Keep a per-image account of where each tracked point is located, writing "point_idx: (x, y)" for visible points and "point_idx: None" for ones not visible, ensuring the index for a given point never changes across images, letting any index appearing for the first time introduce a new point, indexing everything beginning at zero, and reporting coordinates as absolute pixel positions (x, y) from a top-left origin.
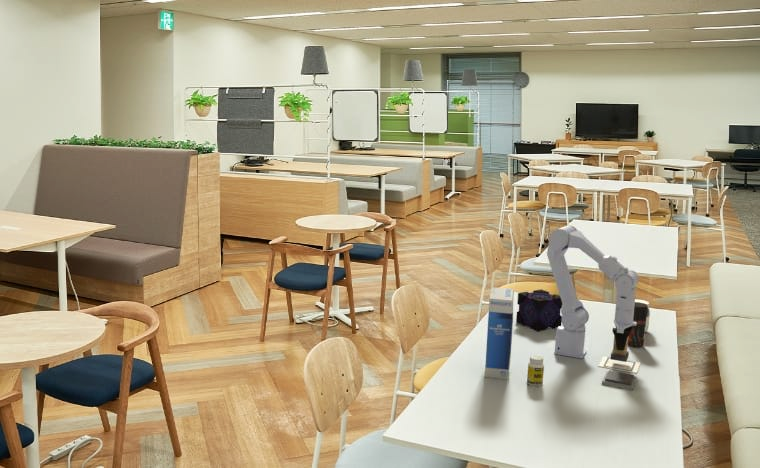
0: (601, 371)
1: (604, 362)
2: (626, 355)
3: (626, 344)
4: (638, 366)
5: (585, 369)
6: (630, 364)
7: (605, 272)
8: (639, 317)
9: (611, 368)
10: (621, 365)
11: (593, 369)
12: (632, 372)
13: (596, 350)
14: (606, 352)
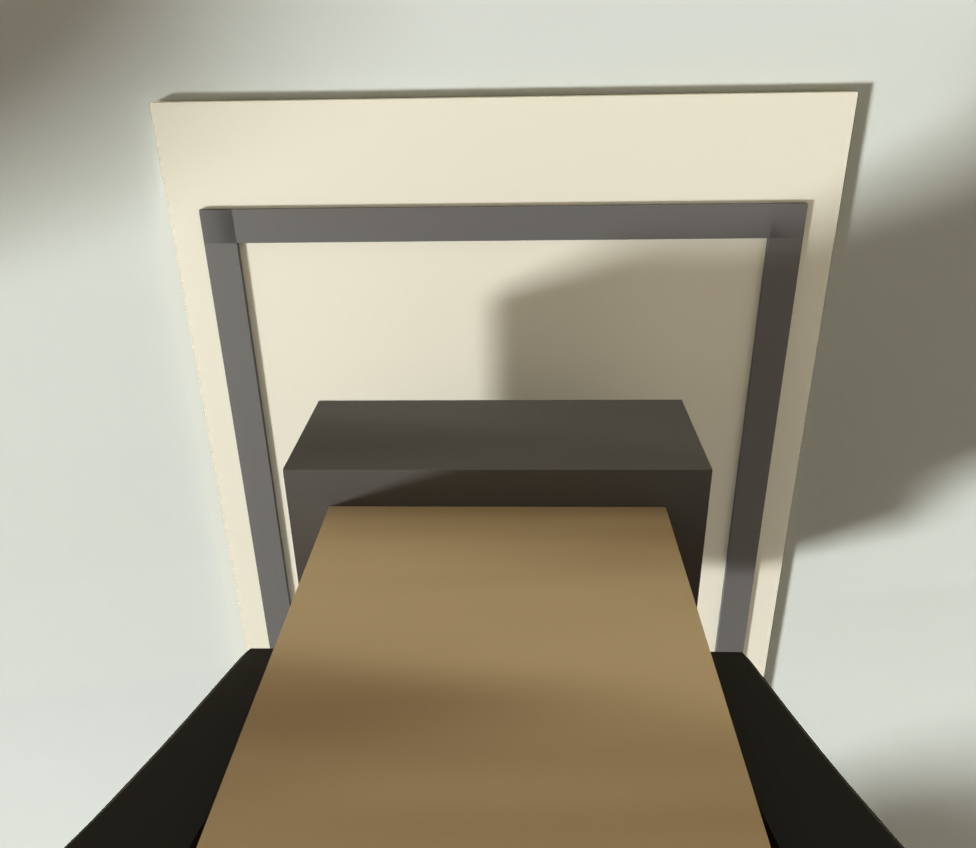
0: (961, 663)
1: None
2: (651, 483)
3: (718, 754)
4: (426, 113)
5: (948, 839)
6: (398, 289)
7: None
8: None
9: (779, 559)
10: None
11: (909, 761)
12: (838, 186)
13: (52, 823)
14: (26, 709)
